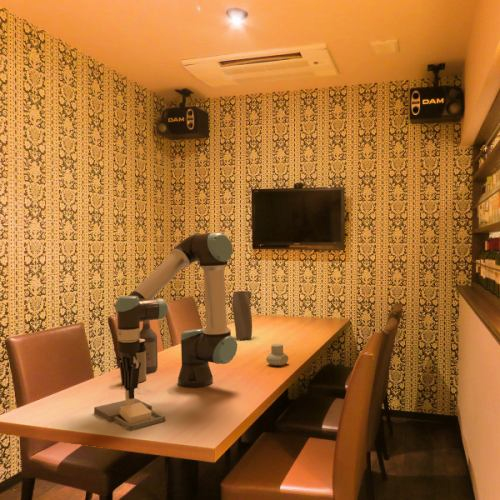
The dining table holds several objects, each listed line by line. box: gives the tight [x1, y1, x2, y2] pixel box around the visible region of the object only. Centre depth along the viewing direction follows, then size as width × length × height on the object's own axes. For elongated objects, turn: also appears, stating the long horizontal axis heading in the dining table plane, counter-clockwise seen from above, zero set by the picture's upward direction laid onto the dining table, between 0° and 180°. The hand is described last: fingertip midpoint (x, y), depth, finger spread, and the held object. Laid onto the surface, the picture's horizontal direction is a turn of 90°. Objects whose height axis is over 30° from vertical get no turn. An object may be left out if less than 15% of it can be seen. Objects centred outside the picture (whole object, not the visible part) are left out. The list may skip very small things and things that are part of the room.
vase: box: [231, 290, 253, 341], centre depth 318 cm, size 12×12×30 cm
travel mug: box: [136, 339, 147, 384], centre depth 223 cm, size 8×8×18 cm
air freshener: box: [266, 343, 289, 367], centre depth 248 cm, size 11×8×10 cm
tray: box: [113, 409, 166, 432], centre depth 171 cm, size 13×12×2 cm
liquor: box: [140, 320, 159, 374], centre depth 241 cm, size 9×9×30 cm
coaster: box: [119, 402, 152, 424], centre depth 172 cm, size 8×8×2 cm
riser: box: [93, 397, 153, 423], centre depth 181 cm, size 16×13×2 cm
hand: (130, 407), depth 176 cm, fingers closed
